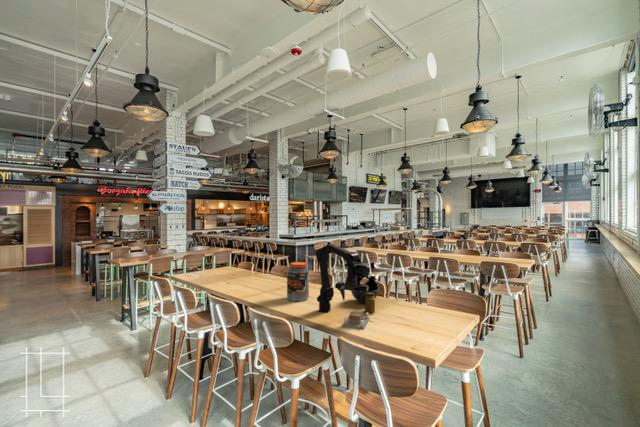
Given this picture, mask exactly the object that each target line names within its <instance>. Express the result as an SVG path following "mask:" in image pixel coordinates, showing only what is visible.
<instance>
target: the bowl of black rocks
mask: <svg viewBox="0 0 640 427" xmlns="http://www.w3.org/2000/svg"><path fill="white" fill-rule="evenodd" d="M363 279H364V277H360V276H357V285H358V286H361V285H362V283H361V281H362V280H363ZM367 279H368V280H367V281H366V282H365V283H364V284H365V285H368V286H369V290H368V291H367V292H365V293H363V295H362V297H361V300H360V302H359V291H360V289H355V288H353V290H352V291H350V292H351V295H352V297H353V298H354V299H355V300H357V301H358V302H359V303H364V304H365V297H366V293H368V292H371V293H374V298H375V299H376V298H377V297H378V296H379V293H380V287H379V286H378V283H377V282H376V280H375V279H373V278H372V277H369V276H368V277H367Z"/></svg>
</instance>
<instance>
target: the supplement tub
mask: <svg viewBox="0 0 640 427" xmlns="http://www.w3.org/2000/svg"><path fill="white" fill-rule="evenodd" d="M286 272H287V273H286V274H287V275H286V276H287V277H286V279H287V280H286V298H287V300H289V301H292V302H303V301H307V300H308V299H309V296H310V295H309V293H310V292H309V290H310V288H309V286H310V282H309V281H310V270H309V268H308V264H307V262H301V261H293V262H290V263H289V268H288V269H287V271H286Z"/></svg>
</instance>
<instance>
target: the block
mask: <svg viewBox="0 0 640 427" xmlns="http://www.w3.org/2000/svg"><path fill="white" fill-rule="evenodd" d="M351 311H352V312H351V313H350V312H349V315H348V317H349V323H351V324H359V325H360V323H361V320H363V317H364V314H363V311H364V310H360V309H359V310H358V309H352V310H351Z"/></svg>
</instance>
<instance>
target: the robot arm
mask: <svg viewBox="0 0 640 427" xmlns="http://www.w3.org/2000/svg"><path fill="white" fill-rule="evenodd" d="M332 253H333V254H335V255H337V256H339V257H341V258H342V259H343V260H344V261H345V262H346V263H345V264H344V266H345V267H346V269H347V270H346V272H347V273H346V279H345V281H337V282H336V283H335V284H334V287H333V286H331V284H330V277H329V276H330V275H329V266H328V262H329V258H330V254H332ZM315 256H316V260H317V261H318V263H319V271H320V279H321V287H320V288H319V295H318V296H317V297H316V301H317V303H318V312H319V313H329V312H330V311H331V309H332V308H331V306H332V305H331V301H333V298H334V296H335V295H334V294H335V290H334V288H335V289H337V290H338V291H339V292H340V294H341V296H342V297H341V298H342V301H345V299H346V296H345V295H346V293H345V291H350V292H351V291H352V290H353V288H355V289H360V291H359V301H358V303H361V302H360V300H361V297H362V295H363V293H365V292H367V291H368V290H369V286H368V285H365V283H361V286H358V285H357V276H360V277H364V278H365V279H366V278H368V277H369V274H370V269H369V268H368V265H366V264H363V262H362V260H361V258H360V256H359V253H357V252H354V251H349V250H348V251H347V250H346V249H343V248H341V247H339V246H337V245H335V244H334V243H330V244H326V245H325V246H323V247H320V248H317V249H316V251H315ZM364 278H363V279H364Z"/></svg>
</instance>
